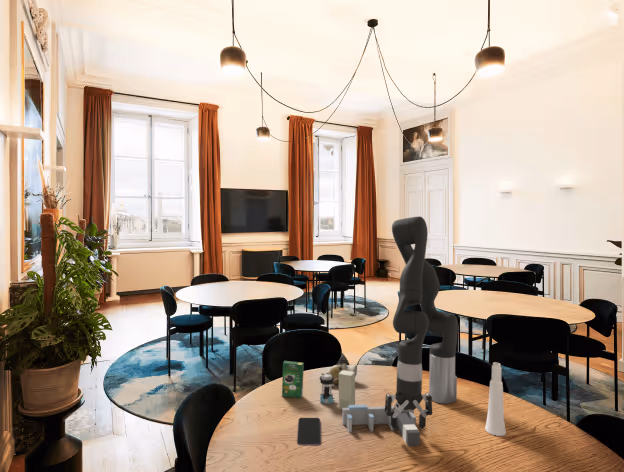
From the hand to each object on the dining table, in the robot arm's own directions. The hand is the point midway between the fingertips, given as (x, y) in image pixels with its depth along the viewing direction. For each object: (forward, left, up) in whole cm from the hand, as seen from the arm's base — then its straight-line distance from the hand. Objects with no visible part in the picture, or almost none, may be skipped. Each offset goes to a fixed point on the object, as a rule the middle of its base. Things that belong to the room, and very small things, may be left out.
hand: (407, 428), depth 115 cm
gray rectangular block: (-1, -2, -3) cm, 4 cm away
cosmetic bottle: (-30, -2, -4) cm, 30 cm away
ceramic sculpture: (+13, -45, -4) cm, 47 cm away
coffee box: (+34, -32, -4) cm, 47 cm away
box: (+15, -21, -4) cm, 26 cm away
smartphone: (+30, -7, -4) cm, 31 cm away
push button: (+21, -26, -4) cm, 34 cm away
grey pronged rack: (+6, -8, -3) cm, 11 cm away
